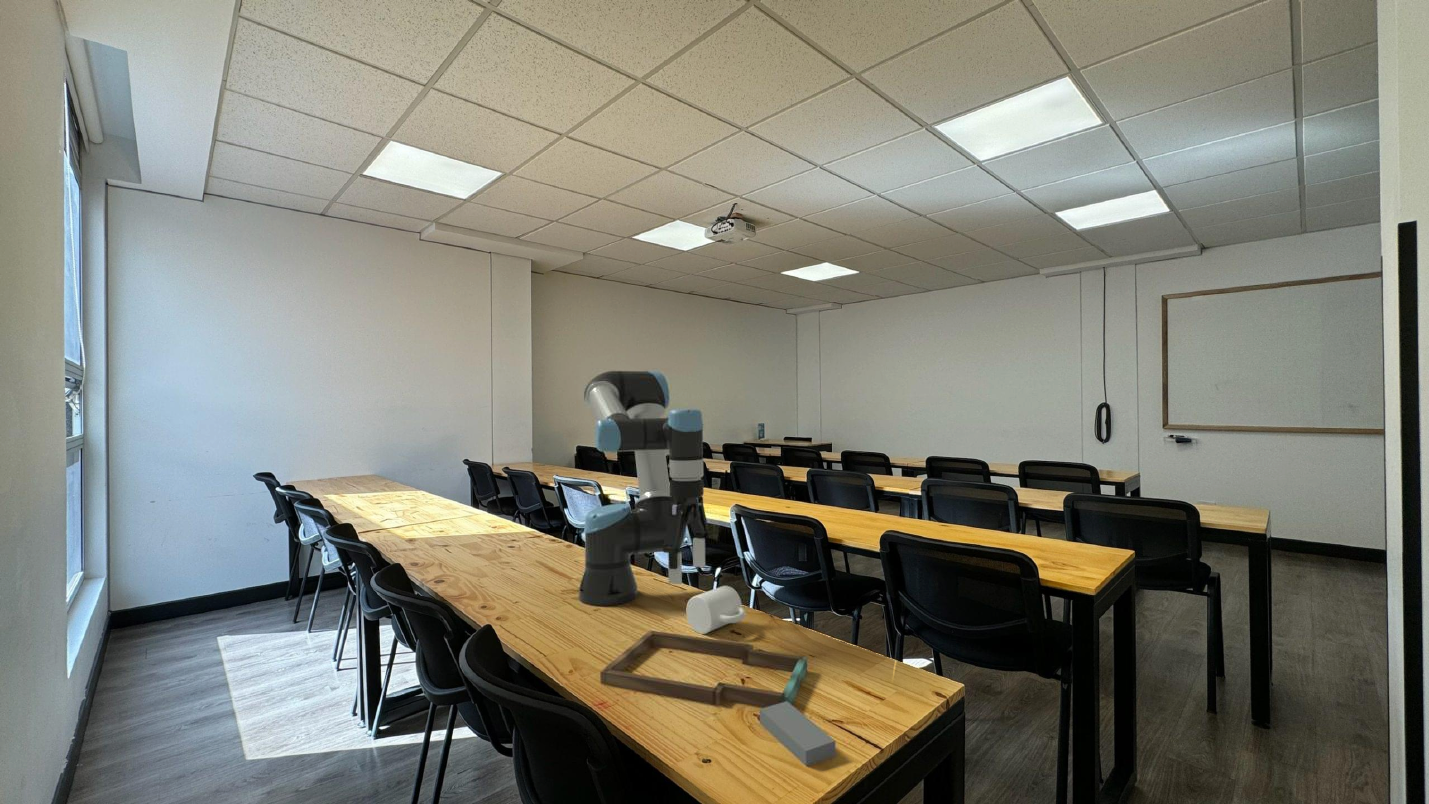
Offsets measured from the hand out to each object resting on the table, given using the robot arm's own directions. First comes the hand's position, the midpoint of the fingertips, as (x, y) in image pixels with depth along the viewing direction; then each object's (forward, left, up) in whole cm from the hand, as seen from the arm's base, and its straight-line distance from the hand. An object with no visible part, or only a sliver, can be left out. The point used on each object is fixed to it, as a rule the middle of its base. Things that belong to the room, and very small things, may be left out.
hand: (687, 574), depth 127 cm
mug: (-2, +7, -12) cm, 14 cm away
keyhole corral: (+19, +6, -12) cm, 24 cm away
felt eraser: (+34, +31, -12) cm, 48 cm away
